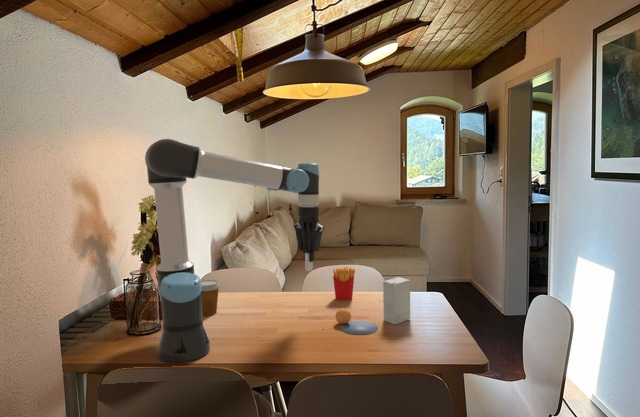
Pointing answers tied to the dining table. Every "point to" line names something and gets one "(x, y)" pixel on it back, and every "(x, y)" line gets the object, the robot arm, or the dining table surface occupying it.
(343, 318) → the ball
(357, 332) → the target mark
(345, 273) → the french fries
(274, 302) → the dining table surface
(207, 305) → the disposable coffee cup
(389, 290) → the skincare box
